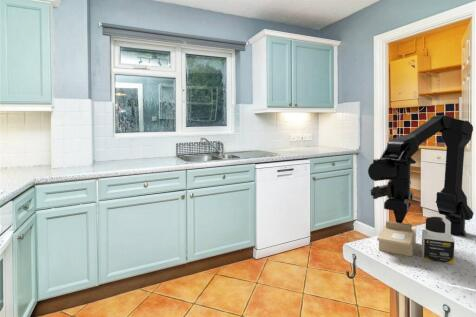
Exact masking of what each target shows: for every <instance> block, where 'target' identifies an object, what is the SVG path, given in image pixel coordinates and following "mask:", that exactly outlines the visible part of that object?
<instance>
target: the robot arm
mask: <svg viewBox="0 0 476 317" xmlns="http://www.w3.org/2000/svg"><path fill="white" fill-rule="evenodd" d="M437 133H440V134H441V140H442V141H443V143H444V145H445V147H446V152H445V167H444V180H443V181H444V183H443V184H444V185H443V188H442V189H441V190H440V191H437V193H436V194H435V195H436V200H435V204H436V207H437V211H438V214H439V215H443V216H444V218H445V219H447V220H449V221H450V222H451V232H450V233H451V235H452V236H460V237H467V232H466V221H470V220H472V219H473V218H474V211H473V210H472V209H471V207H470V206H469V205H468V198H467V197H468V196H466V194H465V192H464V191H463V188H462V187H463V176H464V175H463V174H464V163H465V162H464V160H465V147H466V146H467V145H468V143H470V141H471V140H472V136H473V133H474V125H473V124H472V123H471V122H470V121H469V120H463V119H458V118H456V117H455V118H454V117H451V116H449V115H446V114H444V115H443V114H442V115H433V116H431V117H430V119H429V120H427V121H425V122H424V123H423V124H421V125H419V126H418V127H417V128H415V129H413V130H412V131H410V132H409V133H406V134H404V135H400V136H397V137H394V138H391V139H390V140H389V141H388V142H387V145H386V147H385V148H384V150H383V152H382V153H381V155H380V156H379V158H373V159H372V160H373V162H372V163H371V164H369V167H368V169H367V174H368V176H369V178H370V179H371V180H372V181H374V182H377V181H388V182H387V184H384V185H383V184H382V185H376V186H372V188H371V189H369V191H370V195H371V196H372V199H373V200H377V199H379V198H383V197H386V198H387V199H386V200H385V201H384V202H383V209H384V210H387V211H388V210H389V211H392V212H393V215H394V218H395V222H398V223H404V222H403V221H404V220H405V219H406V218H405V217H406V215H407V214H408V211H409V209H410V207H411V205H412V203H411V202H408V200H410V201H413V200H414V193H413V191H412V190H411V184H412V182H411V169H412V168H411V166H412V165H413V164H414V165H415V164H416V163H417V161H416V160H415V159H413V158H412V157H413V156H414V155H415V154H416V153H417V152H418V151H419V150H420V146H421V145H422V144H423V143H424V142H426V141H427V140H429V139H430V138H432V137H433V136H435V135H436V134H437Z"/></svg>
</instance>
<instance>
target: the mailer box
mask: <svg viewBox="0 0 476 317" xmlns="http://www.w3.org/2000/svg"><path fill="white" fill-rule="evenodd" d="M384 226H385V227H386V224H385V225H384ZM412 231H414V235H413V238H412V242H411V245H410V246H407V245H401V244H396V243H390V242H384V241H379V240H378V251H382V252H386V253H391V254H396V255H401V256H407V257H413V254H414V251H415V247H416V245H417V244H416V242H417V229H415V228H412Z"/></svg>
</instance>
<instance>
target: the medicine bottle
mask: <svg viewBox="0 0 476 317" xmlns="http://www.w3.org/2000/svg"><path fill="white" fill-rule="evenodd" d="M450 232H451V222H450V221H449V220H447V219H445V217H440V216H429V217H427V218H426V219H425V228H424V229H422V230H421V254H422V258H423V260H425V261H430V262H431V261H432V262H439V263H444V264H452V265H453V264H455V239H454V237H453V235H451V233H450Z"/></svg>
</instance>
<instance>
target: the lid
mask: <svg viewBox="0 0 476 317" xmlns="http://www.w3.org/2000/svg"><path fill="white" fill-rule="evenodd" d="M385 225H386V227H385ZM385 225H384V226H383V228H382V229H381V232H379V234H378V236H377V238H376V240H377V241H378V242H379V241H384V242H390V243H396V244H401V245H407V246H410V245H411V242H412V238H413V235H414V231H412V229H413V228H412V226H413V225H412V224H411V223H404V222H402V223H398V222H396V221H390V220H386V222H385Z"/></svg>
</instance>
